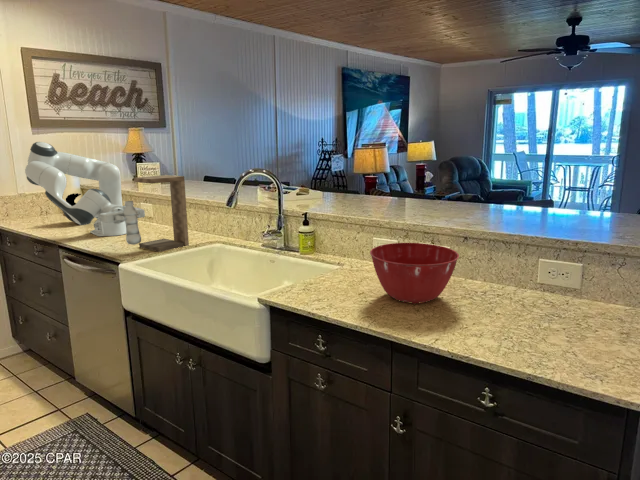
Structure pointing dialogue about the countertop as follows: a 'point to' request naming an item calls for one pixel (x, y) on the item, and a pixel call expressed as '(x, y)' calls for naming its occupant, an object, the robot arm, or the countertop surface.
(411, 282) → the mixing bowl
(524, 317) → the countertop surface
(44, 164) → the robot arm
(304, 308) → the countertop surface
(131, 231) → the plastic bottle
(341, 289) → the countertop surface
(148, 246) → the walnut shelf
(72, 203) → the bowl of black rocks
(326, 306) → the countertop surface
